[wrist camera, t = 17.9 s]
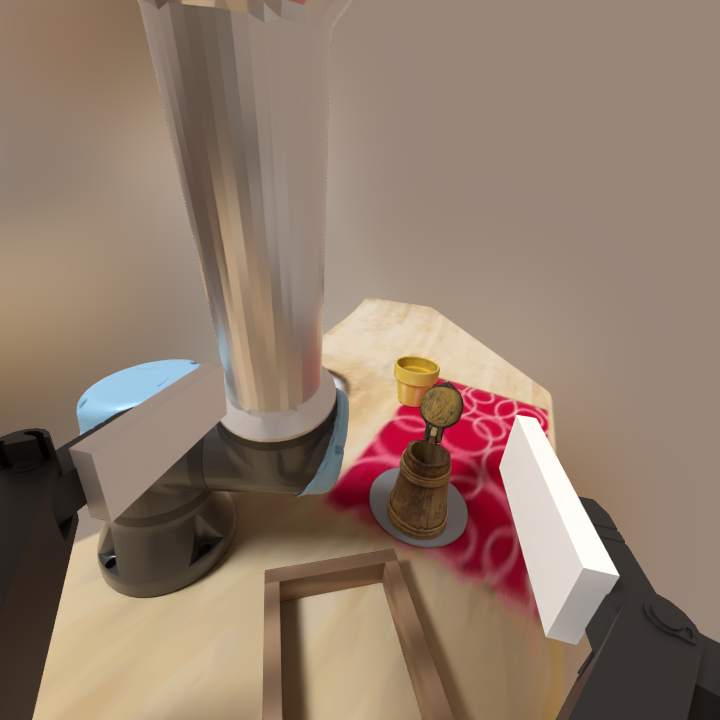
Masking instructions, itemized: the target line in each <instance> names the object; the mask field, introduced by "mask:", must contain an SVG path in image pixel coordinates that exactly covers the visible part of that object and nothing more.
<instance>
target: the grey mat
mask: <svg viewBox="0 0 720 720" xmlns="http://www.w3.org/2000/svg"><path fill="white" fill-rule="evenodd" d="M399 471H400V467H398V468H393V469H390V470H388V471H386V472H384V473H382V474H381V475H379V476H378V477H377V478H376V479H375V481H374V482H373V484H372V486H371V490H370V496H369V503H370V508H371V511H372V514H373V516H374V518H375V519H376V521H377V522H378V523H379V525H380V526H381V527H382V528H383V529H384V530H385V531H386V532H387V533H389V534H390V535H391V536H393V537H394V538H396V539H397V540H399V541H401V542H403V543H406V544H409V545H412V546H416V547H421V548H439V547H443V546H446V545H449V544H451V543H453V542H454V541H456V540H457V539H458V538H459V537H460V536H461V535H462V533H463V532H464V530H465V528H466V524H467V520H468V510H467V506H466V503H465V501H464V499H463V497H462V495H461V494H460V493H459V491H458V490H457V489H456V488H455V487H454V486H453V485H452V484H451V483H450V482H449V481H448V494H447V507H448V516H447V523H446V528H445V530H444V532H443V533H442V534H441V535H440V536H438V537H436V538H433V539H429V540H419V539H414V538H411V537H409V536H406V535H404V534H403V533H401V532H400V531H398V530H397V529H396V528H395V527H394V526H393V525H392V524H391V522H390V520H389V518H388V514H387V504H388V499H389V495H390V492H391V490H392V489H393V487H394V485H395V482H396V479H397V477H398V474H399Z"/></svg>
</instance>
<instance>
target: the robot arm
mask: <svg viewBox="0 0 720 720" xmlns="http://www.w3.org/2000/svg"><path fill="white" fill-rule="evenodd" d="M137 1H138V3H139V4H140V9H141V13H142V18H143V22H144V26H145V31H146V35H147V39H148V44H149V48H150V52H151V57H152V61H153V65H154V70H155V74H156V78H157V83H158V87H159V92H160V95H161V100H162V104H163V109H164V113H165V117H166V122H167V126H168V131H169V135H170V139H171V143H172V148H173V152H174V157H175V161H176V165H177V169H178V174H179V178H180V183H181V187H182V191H183V196H184V200H185V204H186V208H187V213H188V217H189V222H190V226H191V230H192V235H193V239H194V243H195V248H196V251H197V256H198V261H199V265H200V269H201V274H202V278H203V282H204V286H205V291H206V296H207V299H208V304H209V309H210V313H211V317H212V322H213V326H214V330H215V335H216V339H217V343H218V347H219V352H220V356H221V360H222V363H216V362H211V361H207V362H206V363H204V364H203V365H201V364H198V363H196V362H194V361H191V360H180V359H179V360H163V361H156V362H150V363H146V364H142V365H138V366H134V367H131V368H128V369H125V370H122V371H119V372H117V373H114V374H112V375H110V376H108V377H106V378H104V379H102V380H100V381H99V382H97V383H96V384H94V385H93V386H92V387H90V388H89V389H88V390H87V391H86V392H85V393H84V394H83V395H82V397H81V398H80V400H79V402H78V406H77V416H78V421H79V425H80V431H81V432H80V436H79V437H77V438H75V439H73V440H72V441H71V442H69V443H67V444H65V445H64V446H62V447H60V448H59V449H57V450H55V448H54V445H53V442H52V439H51V436H50V433H49V432H48V431H46V430H45V429H38V428H35V429H25V430H21V431H17V432H13V433H11V434H8V435H5V436H2V437H1V438H0V720H32V718H33V714H34V709H35V705H36V701H37V697H38V692H39V688H40V684H41V679H42V675H43V671H44V667H45V662H46V658H47V654H48V650H49V645H50V641H51V637H52V632H53V628H54V624H55V620H56V615H57V611H58V607H59V602H60V598H61V594H62V590H63V585H64V581H65V577H66V573H67V568H68V564H69V560H70V555H71V551H72V547H73V543H74V538H75V534H76V529H77V525H78V521H79V519H78V514H77V511H78V510H79V509H81V508H82V507H83V506H84V505H86V504H87V506H88V509H89V512H90V515H91V517H92V518H96V519H100V520H103V524H102V528H101V533H100V538H99V543H98V550H97V554H98V563H99V566H100V569H101V572H102V575H103V577H104V579H105V581H106V582H107V584H108V585H109V586H110V587H111V588H112V589H114V590H115V591H117V592H119V593H121V594H124V595H128V596H133V597H152V596H158V595H163V594H167V593H170V592H173V591H176V590H178V589H180V588H183V587H185V586H187V585H189V584H191V583H192V582H194V581H196V580H197V579H199V578H200V577H202V576H203V575H204V574H206V573H207V572H208V571H209V570H210V569H212V568H213V567H214V566H215V565H216V564H217V563H218V562H219V560H220V559H221V558H222V557H223V556H224V554H225V553H226V551H227V550H228V548H229V546H230V545H231V543H232V540H233V538H234V535H235V531H236V512H235V506H234V502H233V500H232V497H231V496H230V494H229V493H228V492H250V493H276V494H293V495H294V496H299V497H300V496H303V495H308V494H324V493H327V492H328V491H330V490H331V489H332V488H333V487H334V485H335V483H336V481H337V479H338V476H339V473H340V469H341V465H342V460H343V455H344V449H343V448H344V446H345V442H346V437H347V429H348V417H349V401H348V396H347V394H346V393H345V392H344V391H342V390H339V389H337V388H336V387H335V383H334V380H333V378H332V376H331V374H330V373H329V372H328V371H327V369H326V368H324V367H323V366H322V339H323V302H324V266H325V228H326V192H327V155H328V119H329V83H330V82H329V81H330V46H331V45H330V44H331V43H330V42H331V36H332V32H333V28H334V24H335V23H336V22H337V20H338V19H339V18H340V17H341V15H342V14H343V13H344V12H345V10H346V9H347V8H348V6H349V5H350V4H351V3H352V1H353V0H137ZM224 374H225V375H224ZM499 468H500V472H501V476H502V479H503V483H504V487H505V490H506V494H507V497H508V501H509V505H510V508H511V512H512V516H513V519H514V523H515V527H516V530H517V534H518V537H519V541H520V545H521V548H522V552H523V556H524V559H525V563H526V567H527V570H528V574H529V578H530V581H531V585H532V588H533V592H534V596H535V599H536V603H537V607H538V610H539V614H540V618H541V621H542V625H543V629H544V632H545V636H546V637H548V638H552V639H555V640H559V641H563V642H567V643H571V644H574V645H577V644H578V643H579V641H580V640H581V638H582V636H583V635H584V633H585V632H586V634H587V637H588V639H589V642H590V645H591V647H592V652H591V653H590V654H589V656H588V657H587V659H586V660H585V662H584V663H583V665H582V667H581V668H580V670H579V671H578V674H579V675H578V677H577V679H576V681H575V683H574V685H573V687H572V689H571V691H570V693H569V695H568V697H567V699H566V701H565V702H564V704H563V706H562V708H561V710H560V712H559V714H558V716H557V718H556V720H720V643H718V642H716V641H714V640H712V639H710V638H708V637H706V636H704V635H702V634H701V633H699V631H698V629H697V628H696V626H695V624H693V622H692V621H691V620H690V619H689V618H688V617H687V616H686V614H685V613H684V612H683V611H682V610H680V609H679V608H678V607H676V606H675V605H674V604H673V603H671V602H670V601H669V600H667V599H665V598H663V597H661V596H660V595H658V594H656V592H655V591H654V589H653V587H652V586H651V584H650V582H649V581H648V579H647V577H646V576H645V574H644V572H643V571H642V569H641V568H640V566H639V564H638V562H637V561H636V559H635V557H634V556H633V554H632V552H631V551H630V549H629V547H628V546H627V545H625V541H624V539H623V537H622V536H621V534H620V533H619V532H617V528H616V526H615V524H614V523H613V521H612V519H611V518H610V516H609V514H608V513H607V512H606V511H605V510H604V509H603V508H602V507H601V506H600V505H599V504H597V502H596V501H594V500H593V499H587V498H583V497H578V496H577V494H576V493H575V491H574V489H573V487H572V485H571V483H570V481H569V479H568V477H567V476H566V474H565V472H564V470H563V468H562V466H561V464H560V462H559V460H558V459H557V457H556V455H555V453H554V451H553V449H552V447H551V445H550V443H549V442H548V440H547V438H546V436H545V434H544V432H543V430H542V428H541V426H540V425H539V423H538V421H537V419H536V418H531V417H526V416H520V415H516V418H515V421H514V424H513V427H512V430H511V433H510V436H509V439H508V442H507V445H506V448H505V452H504V455H503V458H502V461H501V464H500V467H499Z"/></svg>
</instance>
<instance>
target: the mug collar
mask: <svg viewBox="0 0 720 720" xmlns="http://www.w3.org/2000/svg"><path fill="white" fill-rule="evenodd" d="M379 582H382V583H383V587H384V590H385V594H386V597H387V600H388V604H389V607H390V611H391V614H392V617H393V621H394V624H395V628H396V631H397V634H398V638H399V641H400V644H401V648H402V651H403V655H404V658H405V661H406V665H407V668H408V672H409V675H410V678H411V682H412V685H413V689H414V692H415V695H416V699H417V702H418V706H419V709H420V712H421V716H422V719H423V720H454V717H453V714H452V711H451V709H450V706H449V703H448V700H447V697H446V694H445V692H444V689H443V686H442V683H441V680H440V678H439V675H438V672H437V669H436V666H435V664H434V661H433V658H432V655H431V652H430V650H429V647H428V644H427V641H426V638H425V636H424V633H423V630H422V627H421V624H420V622H419V619H418V616H417V613H416V610H415V608H414V605H413V602H412V599H411V596H410V593H409V591H408V588H407V585H406V582H405V579H404V577H403V574H402V571H401V568H400V565H399V563H398V560H397V557H396V554H395V551H394V549H389V550H383V551H377V552H371V553H365V554H359V555H353V556H347V557H341V558H335V559H329V560H324V561H318V562H312V563H306V564H300V565H294V566H288V567H282V568H276V569H270V570H265V593H264V652H263V712H262V720H282V686H281V640H280V602H281V601H286V600H291V599H296V598H302V597H307V596H312V595H317V594H322V593H327V592H333V591H338V590H343V589H348V588H353V587H358V586H364V585H369V584H374V583H379Z"/></svg>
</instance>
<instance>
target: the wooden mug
mask: <svg viewBox="0 0 720 720" xmlns="http://www.w3.org/2000/svg"><path fill="white" fill-rule="evenodd" d="M463 405H464V404H463V399H462V396H461V394H460V393H459V391H458V390H457V389H456V388H455V387H454V386H453V385H452V384H451V383H450V382H449V381H448V382H444V383H440V384H438V385H435V386H433V387H431V388H429V389H428V390H427V391H426V392H425V394H424V396H423V398H422V402H421V406H420V413H421V416H422V418H423V419H424V421H425V423H426V429H425V433H424V435H423V438H424V439H426V440H413V441H411V442H410V443H409V444H408V446H407V449H406V450H405V451H403V454H402V457H401V460H400V471H399V474H398V477H397V479H396V482H395V485H394V487H393V489H392V490H391V492H390V495H389V499H388V504H387V514H388V518H389V520H390V522H391V524H392V525H393V526H394V527H395V528H396V529H397V530H398V531H400V532H401V533H403V534H404V535H406V536H409V537H411V538H414V539H419V540H429V539H433V538H436V537H438V536H440V535H441V534H442V533H443V532H444V530H445V528H446V523H447V516H448V507H447V494H448V481H449V479H450V476H451V462H450V454H449V452H448V451H447V450H446V449H445V448H444V447H442V446H441V445H439V444H437V443H441V440H442V436H443V432H444V429H446V428H449V427H451V426H453V425H454V424H456V423H457V422H458V421H459V419H460V417H461V415H462V412H463Z"/></svg>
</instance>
